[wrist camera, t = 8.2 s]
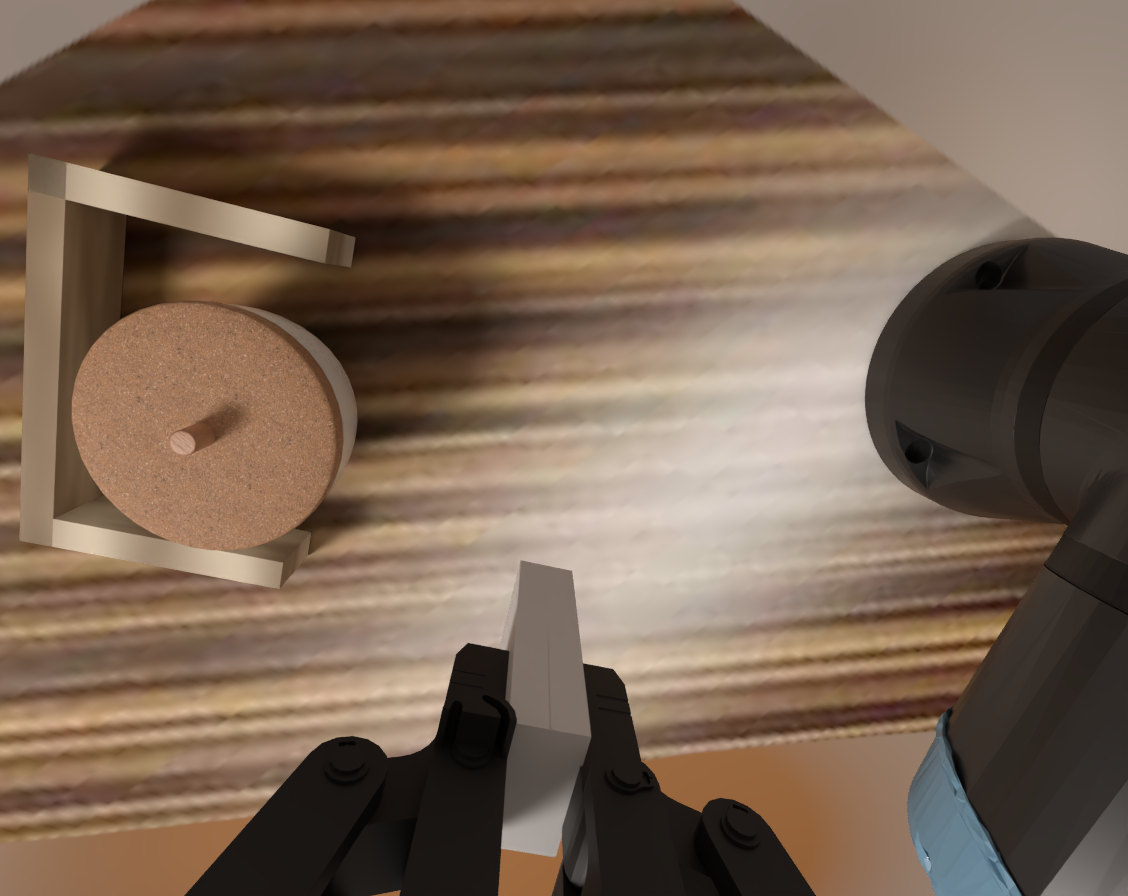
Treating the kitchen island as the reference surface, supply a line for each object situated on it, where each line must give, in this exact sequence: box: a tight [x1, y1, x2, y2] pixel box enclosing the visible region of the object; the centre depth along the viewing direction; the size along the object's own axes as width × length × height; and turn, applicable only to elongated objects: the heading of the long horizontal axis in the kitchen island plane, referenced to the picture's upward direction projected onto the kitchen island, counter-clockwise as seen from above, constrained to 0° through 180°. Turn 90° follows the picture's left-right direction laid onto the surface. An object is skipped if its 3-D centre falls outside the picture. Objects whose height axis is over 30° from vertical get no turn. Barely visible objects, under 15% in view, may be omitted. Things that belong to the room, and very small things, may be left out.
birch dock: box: [20, 153, 356, 589], centre depth 30 cm, size 12×18×4 cm
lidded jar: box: [72, 301, 357, 551], centre depth 27 cm, size 11×11×9 cm
